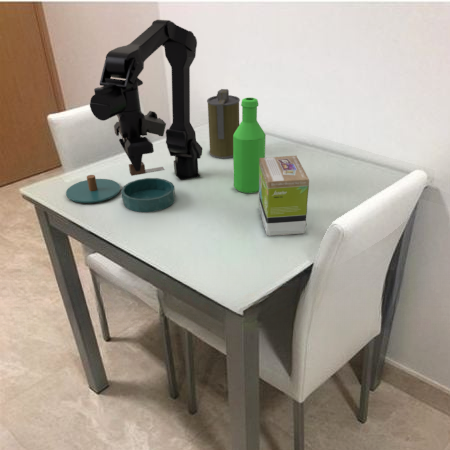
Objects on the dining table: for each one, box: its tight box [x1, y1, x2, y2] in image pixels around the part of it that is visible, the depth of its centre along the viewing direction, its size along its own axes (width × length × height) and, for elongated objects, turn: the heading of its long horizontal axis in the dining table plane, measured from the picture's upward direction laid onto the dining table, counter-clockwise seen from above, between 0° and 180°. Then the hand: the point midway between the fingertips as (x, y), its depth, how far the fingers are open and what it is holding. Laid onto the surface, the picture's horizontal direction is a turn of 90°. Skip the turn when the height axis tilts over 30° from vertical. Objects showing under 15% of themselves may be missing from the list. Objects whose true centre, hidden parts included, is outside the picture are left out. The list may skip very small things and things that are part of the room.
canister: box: [206, 88, 241, 160], centre depth 161 cm, size 11×10×20 cm
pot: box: [120, 177, 176, 213], centre depth 138 cm, size 14×14×4 cm
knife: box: [128, 161, 166, 177], centre depth 130 cm, size 9×2×2 cm, turn 110°
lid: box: [65, 174, 121, 204], centre depth 142 cm, size 15×15×5 cm
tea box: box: [258, 155, 310, 237], centre depth 123 cm, size 15×10×15 cm, turn 5°
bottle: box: [232, 97, 266, 194], centre depth 137 cm, size 9×9×25 cm
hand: (137, 169), depth 129 cm, fingers closed on knife, 2 cm apart
